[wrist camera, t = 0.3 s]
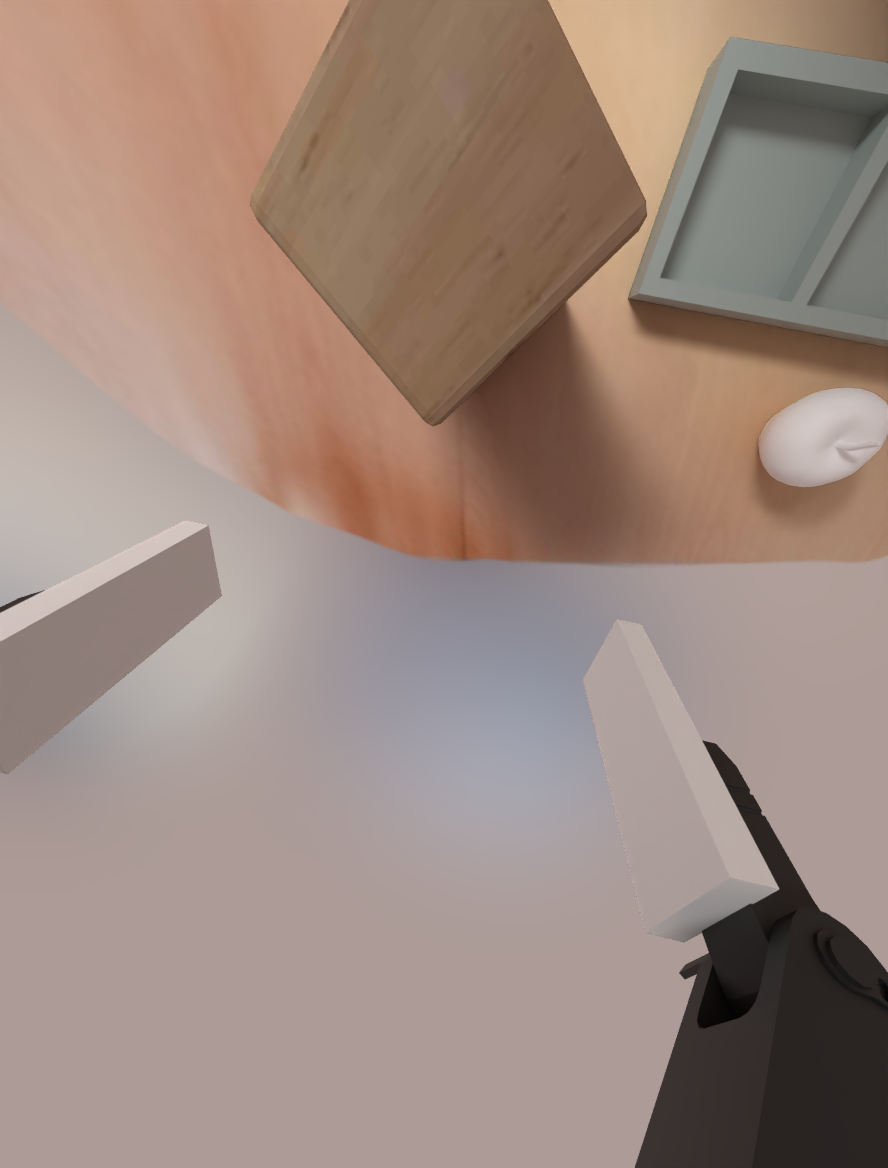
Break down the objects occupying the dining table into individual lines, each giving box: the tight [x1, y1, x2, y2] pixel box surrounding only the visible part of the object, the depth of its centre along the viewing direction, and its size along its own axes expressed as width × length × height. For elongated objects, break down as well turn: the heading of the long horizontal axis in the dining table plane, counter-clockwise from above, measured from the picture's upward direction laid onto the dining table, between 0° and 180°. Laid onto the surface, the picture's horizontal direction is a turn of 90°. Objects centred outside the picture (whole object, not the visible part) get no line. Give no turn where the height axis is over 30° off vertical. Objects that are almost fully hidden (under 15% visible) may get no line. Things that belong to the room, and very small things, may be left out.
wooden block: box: [250, 0, 647, 426], centre depth 21 cm, size 10×10×20 cm
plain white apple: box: [758, 388, 888, 487], centre depth 27 cm, size 7×7×8 cm
